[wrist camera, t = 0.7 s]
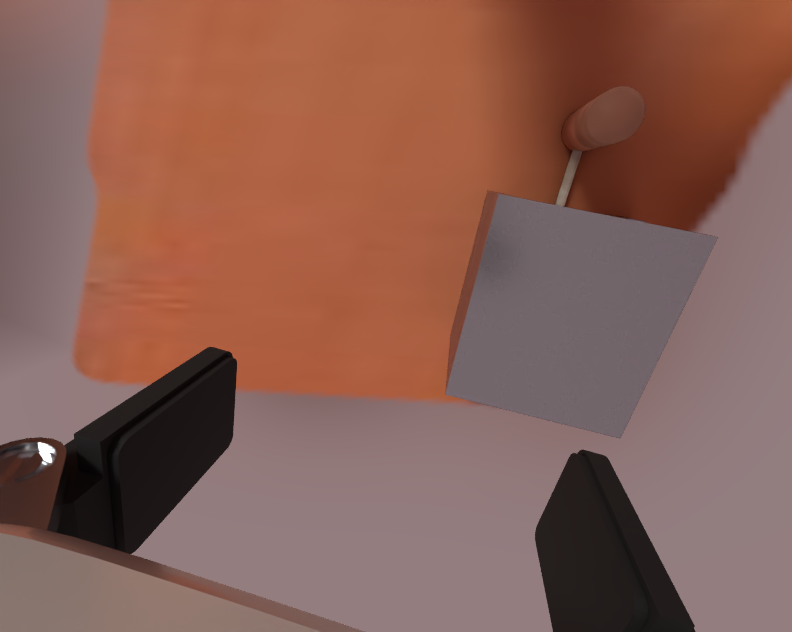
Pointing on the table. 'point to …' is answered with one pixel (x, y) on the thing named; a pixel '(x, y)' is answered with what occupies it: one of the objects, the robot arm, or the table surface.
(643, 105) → the corded block
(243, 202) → the table surface
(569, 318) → the block
